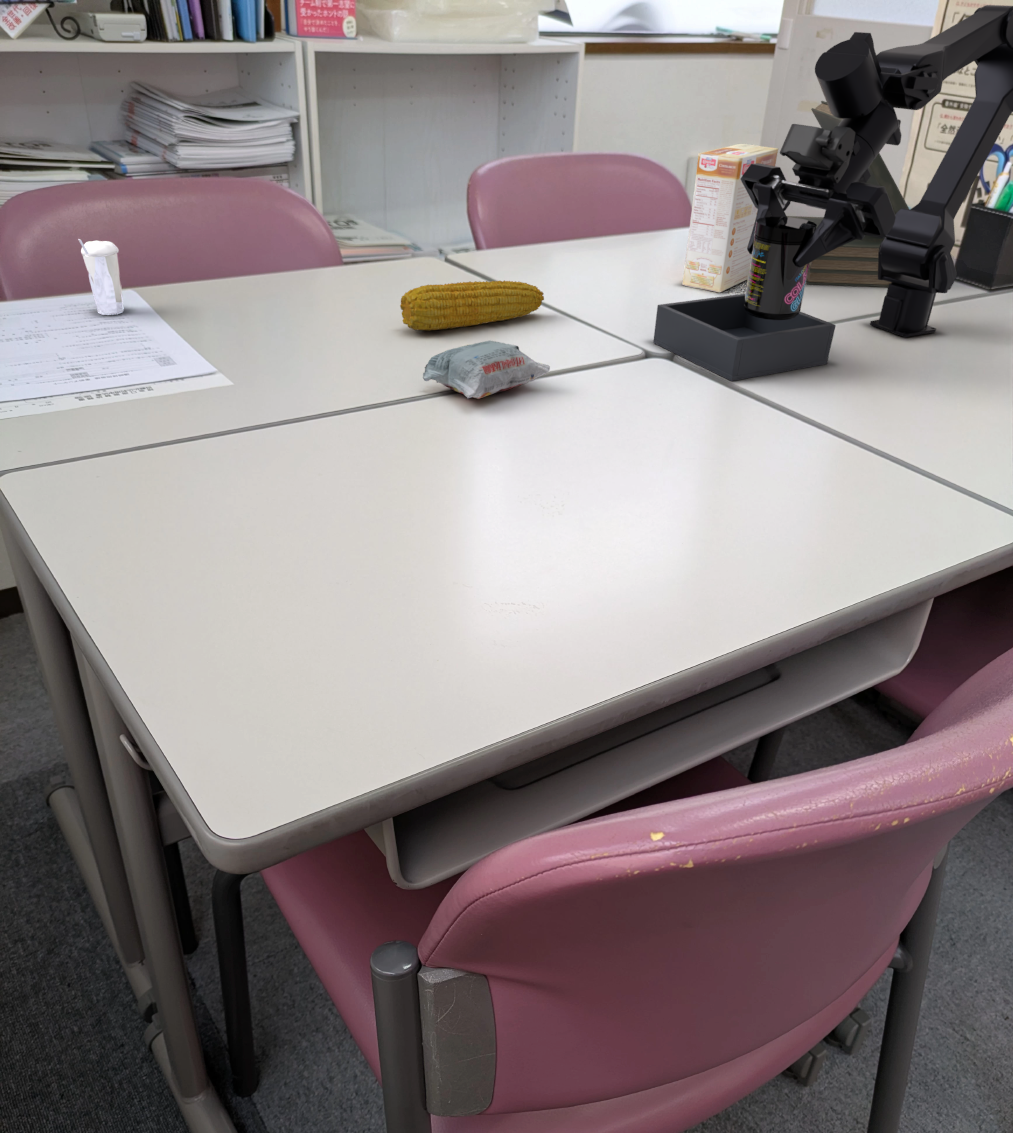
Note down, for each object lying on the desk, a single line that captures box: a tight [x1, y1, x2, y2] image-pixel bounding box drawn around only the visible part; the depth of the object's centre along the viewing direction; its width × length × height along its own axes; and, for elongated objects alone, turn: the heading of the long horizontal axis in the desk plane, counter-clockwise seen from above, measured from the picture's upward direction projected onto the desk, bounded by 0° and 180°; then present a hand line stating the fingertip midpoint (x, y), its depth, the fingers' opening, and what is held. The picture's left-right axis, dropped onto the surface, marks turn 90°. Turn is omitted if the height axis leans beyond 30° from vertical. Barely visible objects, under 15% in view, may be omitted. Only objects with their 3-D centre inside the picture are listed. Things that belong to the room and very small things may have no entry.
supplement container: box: [744, 217, 817, 320], centre depth 110 cm, size 7×7×10 cm
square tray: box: [652, 293, 836, 382], centre depth 120 cm, size 16×16×5 cm
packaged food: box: [422, 339, 551, 400], centre depth 105 cm, size 9×12×5 cm
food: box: [399, 280, 545, 331], centre depth 126 cm, size 21×6×6 cm, turn 123°
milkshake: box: [77, 238, 125, 316], centre depth 124 cm, size 4×5×10 cm
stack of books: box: [786, 100, 911, 288], centre depth 156 cm, size 23×20×25 cm
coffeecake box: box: [681, 143, 779, 293], centre depth 147 cm, size 15×7×20 cm, turn 144°
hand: (772, 258), depth 109 cm, fingers closed on supplement container, 7 cm apart
